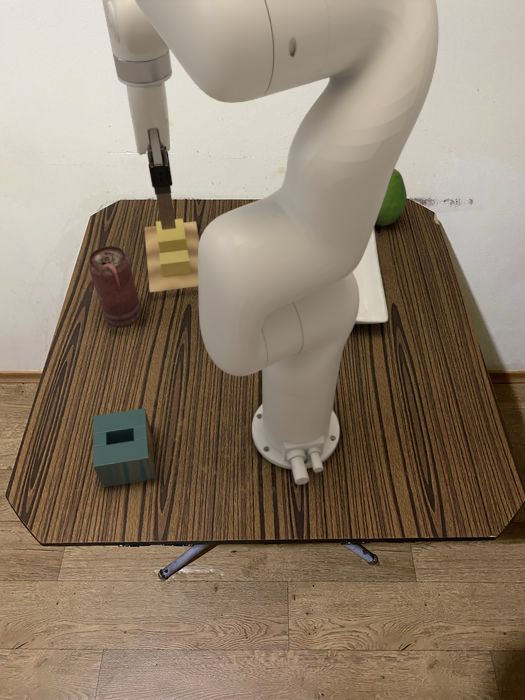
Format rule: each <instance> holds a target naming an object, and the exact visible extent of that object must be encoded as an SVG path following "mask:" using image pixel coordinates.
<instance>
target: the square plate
mask: <svg viewBox="0 0 525 700" xmlns="http://www.w3.org/2000/svg"><path fill="white" fill-rule="evenodd" d="M353 274H354V276H355V278H356V281H357V284H358V289H359V298H360V299H359V310H358V314H357V318H356V321H355V324H354V325H375V324H381V323H382V324H383V323H387V322H388V320H389V312H388V307H387V300H386V295H385V291H384V285H383V284H384V283H383V280H382V274H381V267H380V262H379V256H378V248H377V240H376V234H375V227H374V228H373V231H372V234H371V237H370V239H369V242H368V245H367V247H366V250H365V252H364V255H363V257H362V259H361V261H360V263H359V264H358V266H357V267H356V269H355V270H354V271H353Z"/></svg>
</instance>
